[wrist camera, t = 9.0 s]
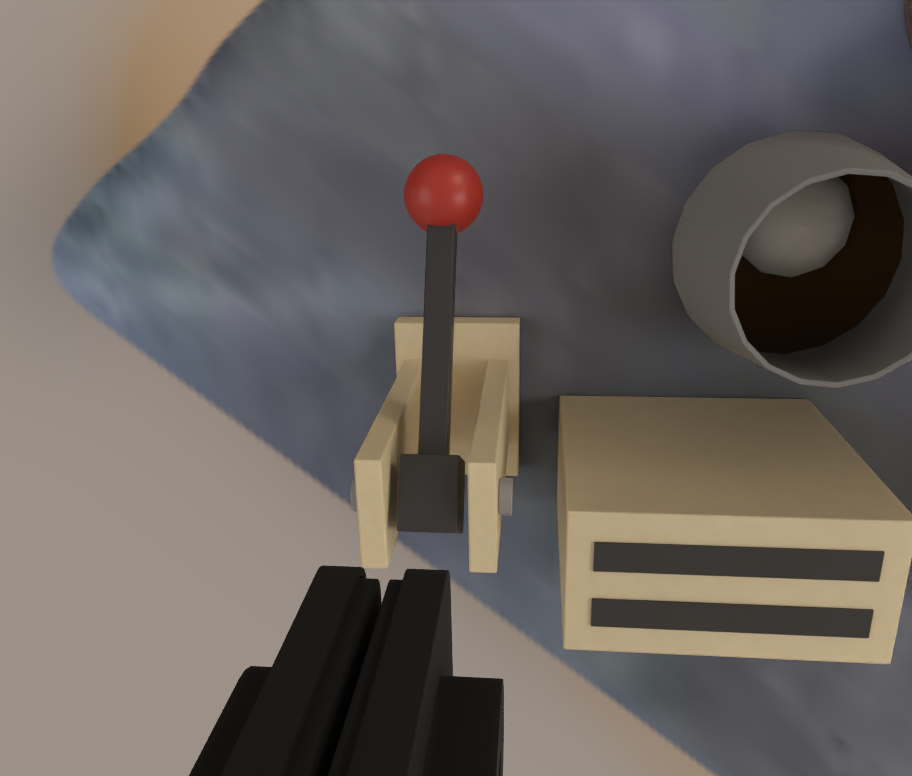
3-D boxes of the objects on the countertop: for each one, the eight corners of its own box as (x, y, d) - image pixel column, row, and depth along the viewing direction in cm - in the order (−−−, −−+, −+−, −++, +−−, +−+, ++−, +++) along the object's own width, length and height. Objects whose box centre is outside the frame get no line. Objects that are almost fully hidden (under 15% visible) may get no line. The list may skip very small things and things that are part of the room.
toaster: (559, 394, 40) (567, 512, 28) (809, 398, 38) (921, 523, 27) (556, 501, 42) (563, 651, 30) (793, 508, 40) (892, 666, 29)
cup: (657, 138, 35) (699, 152, 26) (880, 114, 34) (1009, 119, 25) (662, 343, 38) (701, 421, 29) (866, 328, 37) (977, 404, 28)
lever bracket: (397, 316, 39) (335, 411, 27) (519, 316, 38) (511, 414, 27) (404, 463, 42) (350, 609, 30) (518, 466, 41) (510, 616, 29)
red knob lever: (411, 176, 34) (399, 139, 31) (486, 175, 34) (481, 138, 31) (396, 530, 31) (380, 530, 28) (476, 533, 31) (470, 533, 28)
